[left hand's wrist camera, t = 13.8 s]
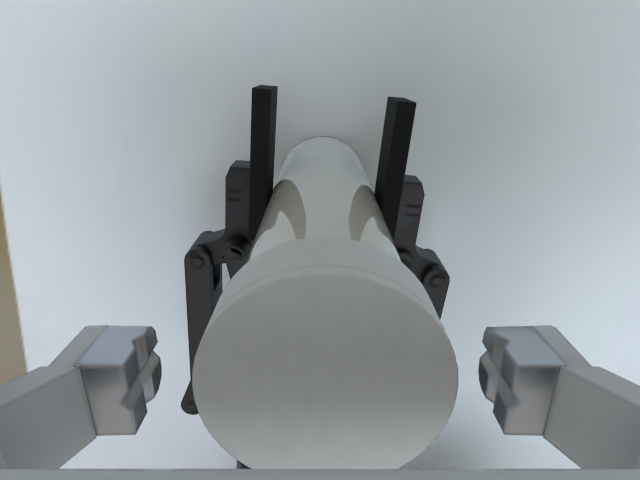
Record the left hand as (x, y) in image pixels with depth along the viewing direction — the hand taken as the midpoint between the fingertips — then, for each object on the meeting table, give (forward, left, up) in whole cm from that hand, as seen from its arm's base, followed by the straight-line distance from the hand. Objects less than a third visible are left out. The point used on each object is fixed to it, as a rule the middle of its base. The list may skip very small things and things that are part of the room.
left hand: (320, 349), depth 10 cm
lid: (0, 0, +1) cm, 1 cm away
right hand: (-5, 0, -11) cm, 12 cm away
